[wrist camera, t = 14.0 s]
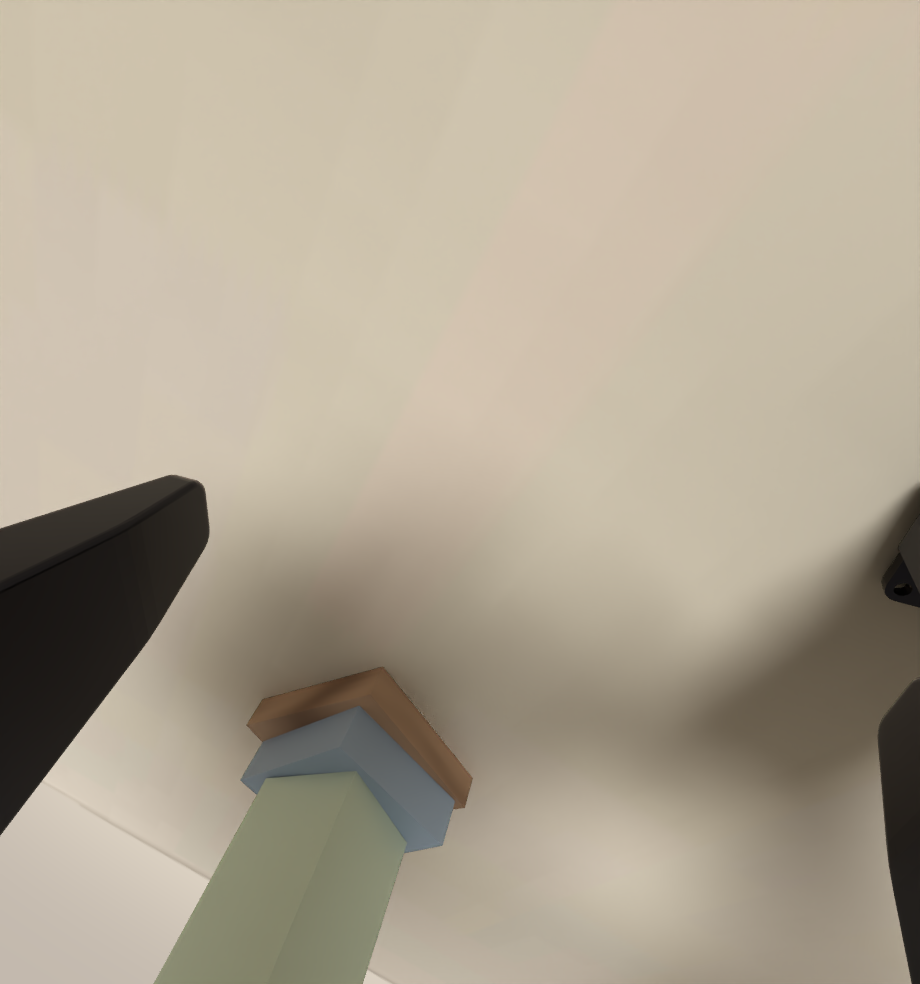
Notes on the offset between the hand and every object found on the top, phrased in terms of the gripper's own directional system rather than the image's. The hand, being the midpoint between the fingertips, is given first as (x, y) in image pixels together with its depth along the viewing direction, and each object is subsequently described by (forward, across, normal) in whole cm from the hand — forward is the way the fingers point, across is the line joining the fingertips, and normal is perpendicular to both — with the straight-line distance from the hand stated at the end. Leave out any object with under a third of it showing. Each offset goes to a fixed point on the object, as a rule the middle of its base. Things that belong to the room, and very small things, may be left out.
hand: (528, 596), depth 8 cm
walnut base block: (+14, +6, +24) cm, 28 cm away
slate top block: (+11, +6, +24) cm, 27 cm away
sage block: (+9, +6, +24) cm, 26 cm away
